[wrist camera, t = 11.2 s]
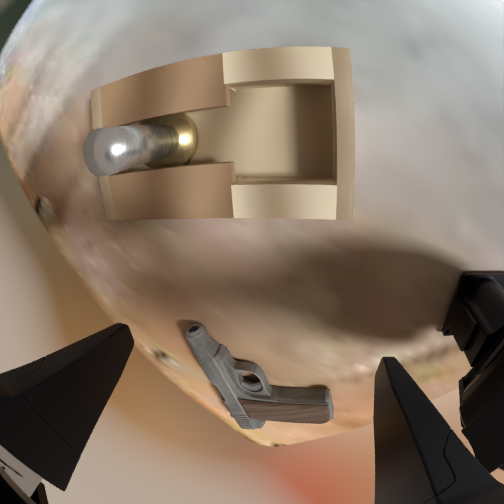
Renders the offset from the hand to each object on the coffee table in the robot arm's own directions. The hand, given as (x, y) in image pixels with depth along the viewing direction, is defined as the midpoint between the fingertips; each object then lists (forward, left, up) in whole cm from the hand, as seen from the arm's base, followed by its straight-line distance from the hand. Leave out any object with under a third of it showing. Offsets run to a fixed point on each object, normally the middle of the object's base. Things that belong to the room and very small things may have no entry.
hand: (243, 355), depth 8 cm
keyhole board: (+5, -7, -12) cm, 15 cm away
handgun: (+1, +16, -13) cm, 21 cm away
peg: (+8, -7, -12) cm, 15 cm away
